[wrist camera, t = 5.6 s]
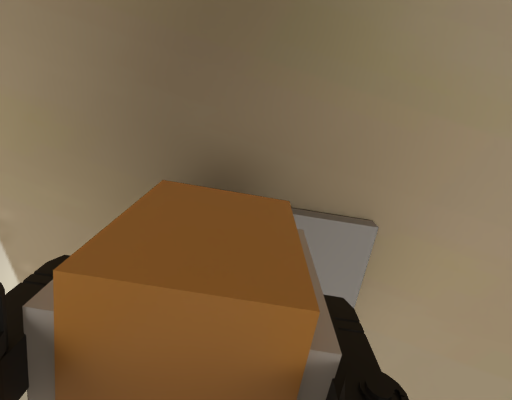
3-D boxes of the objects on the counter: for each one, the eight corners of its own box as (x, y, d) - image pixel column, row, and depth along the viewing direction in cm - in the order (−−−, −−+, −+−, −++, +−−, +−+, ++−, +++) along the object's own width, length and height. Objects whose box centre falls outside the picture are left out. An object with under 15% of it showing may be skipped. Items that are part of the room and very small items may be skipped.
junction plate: (169, 188, 28) (132, 228, 20) (372, 220, 29) (415, 271, 21) (154, 381, 35) (122, 467, 27) (318, 404, 36) (334, 496, 28)
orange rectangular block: (162, 179, 13) (52, 270, 6) (289, 201, 13) (320, 312, 6) (153, 290, 14) (56, 462, 7) (266, 308, 14) (271, 491, 8)
